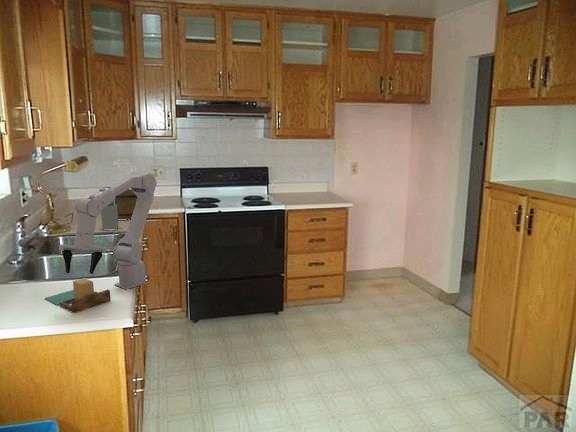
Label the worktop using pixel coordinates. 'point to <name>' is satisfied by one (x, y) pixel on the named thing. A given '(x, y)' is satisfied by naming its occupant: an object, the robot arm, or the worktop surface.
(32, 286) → the worktop surface
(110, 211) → the spray bottle
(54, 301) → the mat
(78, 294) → the block
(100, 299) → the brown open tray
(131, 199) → the wooden container
